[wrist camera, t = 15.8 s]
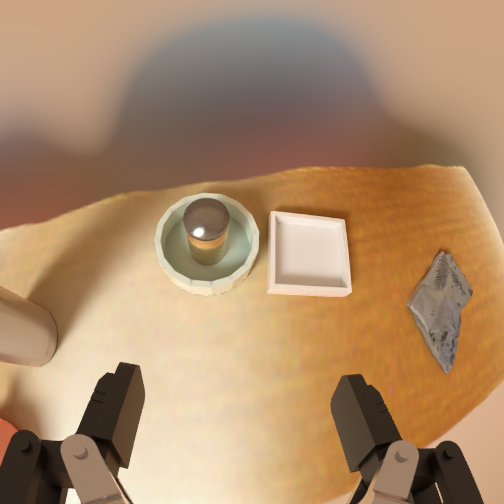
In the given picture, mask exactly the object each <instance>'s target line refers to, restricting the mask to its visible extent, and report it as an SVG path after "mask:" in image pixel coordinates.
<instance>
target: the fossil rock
mask: <svg viewBox="0 0 504 504" xmlns="http://www.w3.org/2000/svg"><path fill="white" fill-rule="evenodd" d="M472 294H473V291H472V289H471V286H470V285H469V283H468V281H467V280H466V278H465V277H464V275H463V274H462V272H461V270H460V269H459V267H458V266H457V264H456V263H455V261H454V260H453V258H452V256H451V254H450V253H447V254H445V253H444V252H443V251H442V252H440V253H439V254H438V255H437V256H436V258H435V259H434V260H433V262H432V264H431V266H430V268H429V270H428V272H427V274H426V275H425V277H424V278H423V279H422V280H421V281H420V282H419V284H418V285H417V286H416V288H415V290H414V291H413V293H412V294H411V296H410V298H409V299H408V301H407V303H406V305H407V306H408V308H409V310H410V311H411V313H412V315H413V317H414V319H415V321H416V324H417V326H418V327H419V328H420V330H421V332H422V334H423V336H424V338H425V341H426V343H427V345H428V347H429V349H430V350H431V352H432V354H433V356H434V357H435V358H436V360H437V361H438V363H439V364H440V365H441V367H442V368H443V370H444V372H445V373H448V372H449V371H450V369H451V367H452V366H453V364H454V360H455V355H456V350H457V338H458V336H459V331H460V325H461V317H460V312H461V310H462V307H464V306H465V305H466V304H467V303H468V301H469V300H470V298H471V296H472Z"/></svg>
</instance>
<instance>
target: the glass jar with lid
mask: <svg viewBox="0 0 504 504" xmlns="http://www.w3.org/2000/svg"><path fill="white" fill-rule="evenodd" d="M229 220H230V215H229V211H228V209H227V207H226V206H225V205H224V204H223V203H222V202H220V201H219V200H216V199H213V198H200V199H197V200H195V201H193V202H192V203H190V204H189V205H188V207H187V208H186V210H185V212H184V215H183V222H184V227H185V230H186V235H187V240H188V245H189V250H190V254H191V257H192V258H193V260H194V261H196V262H197V263H198V264H201V265H204V266H211V265H215V264H217V263H219V262H220V261H221V260H222V259H223V258H224V256H225V253H226V246H227V236H228V226H229Z"/></svg>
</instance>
